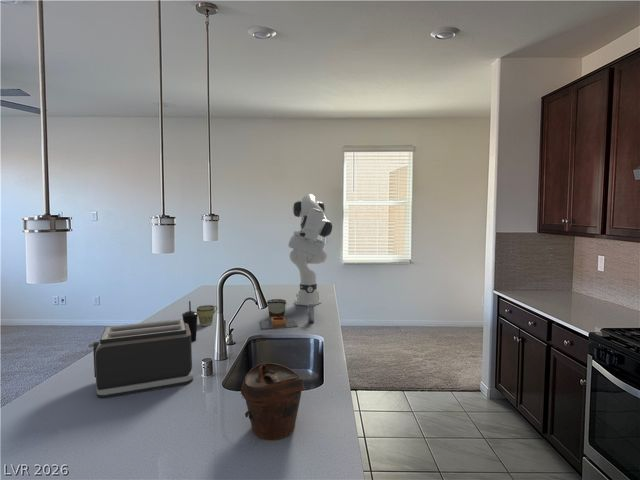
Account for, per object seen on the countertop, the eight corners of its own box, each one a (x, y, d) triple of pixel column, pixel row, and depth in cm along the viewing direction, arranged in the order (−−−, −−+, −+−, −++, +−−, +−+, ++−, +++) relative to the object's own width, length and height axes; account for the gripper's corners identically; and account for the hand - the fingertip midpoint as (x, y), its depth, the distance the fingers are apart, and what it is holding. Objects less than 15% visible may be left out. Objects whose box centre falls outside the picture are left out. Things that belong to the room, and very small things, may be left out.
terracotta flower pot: (259, 406, 127) (258, 353, 125) (315, 419, 119) (315, 362, 117) (226, 436, 110) (225, 375, 109) (289, 453, 102) (288, 388, 101)
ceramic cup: (204, 327, 214) (203, 310, 213) (193, 324, 220) (192, 307, 219) (222, 322, 224) (222, 305, 224) (212, 319, 231) (211, 303, 230)
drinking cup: (179, 340, 192) (178, 301, 191) (194, 337, 198) (192, 298, 197) (187, 344, 187) (186, 303, 186) (201, 340, 193) (200, 301, 191)
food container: (288, 314, 241) (288, 299, 240) (286, 317, 235) (286, 301, 234) (269, 314, 242) (268, 298, 242) (266, 316, 236) (266, 300, 235)
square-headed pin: (306, 321, 226) (306, 302, 225) (313, 321, 226) (313, 302, 226) (308, 323, 222) (308, 304, 221) (315, 323, 223) (315, 303, 222)
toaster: (94, 379, 148) (92, 327, 147) (189, 365, 162) (188, 317, 160) (86, 402, 130) (83, 343, 129) (193, 384, 144) (192, 330, 142)
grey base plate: (259, 322, 224) (259, 316, 224) (293, 320, 229) (293, 314, 229) (261, 329, 211) (261, 323, 210) (297, 326, 215) (297, 320, 215)
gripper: (322, 241, 222) (315, 264, 221) (291, 230, 213) (284, 254, 212) (327, 242, 217) (320, 265, 216) (296, 231, 208) (288, 255, 207)
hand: (302, 260), depth 214 cm, fingers open, 8 cm apart
